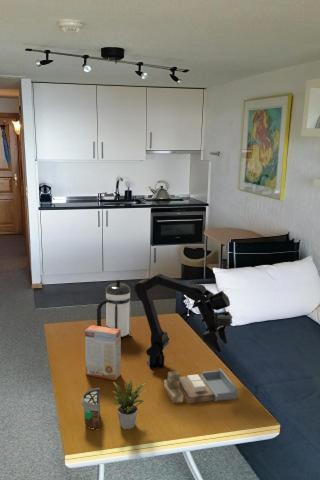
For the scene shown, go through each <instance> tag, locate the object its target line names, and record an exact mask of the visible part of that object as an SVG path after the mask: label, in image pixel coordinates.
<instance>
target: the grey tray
mask: <svg viewBox="0 0 320 480" xmlns="http://www.w3.org/2000/svg"><path fill="white" fill-rule="evenodd" d="M199 375H201V377H202V378H203V380H204V381H205V382H206V384H207V385H208V387H209V388H210V389H211V391H212V392H213V394H214V400H213V401H215V402H221V401H229V400H237V399H238V395H239V394H238V391H239V389H238V388H237V387H236V386H235V384H234V383H233V382H232V380H231V379H230V378H229V376H228V375H227V374H226V373H225V372H224V370H222V368H221V367H219V368H218V370H210V371H202V372H201V374H199Z"/></svg>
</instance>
